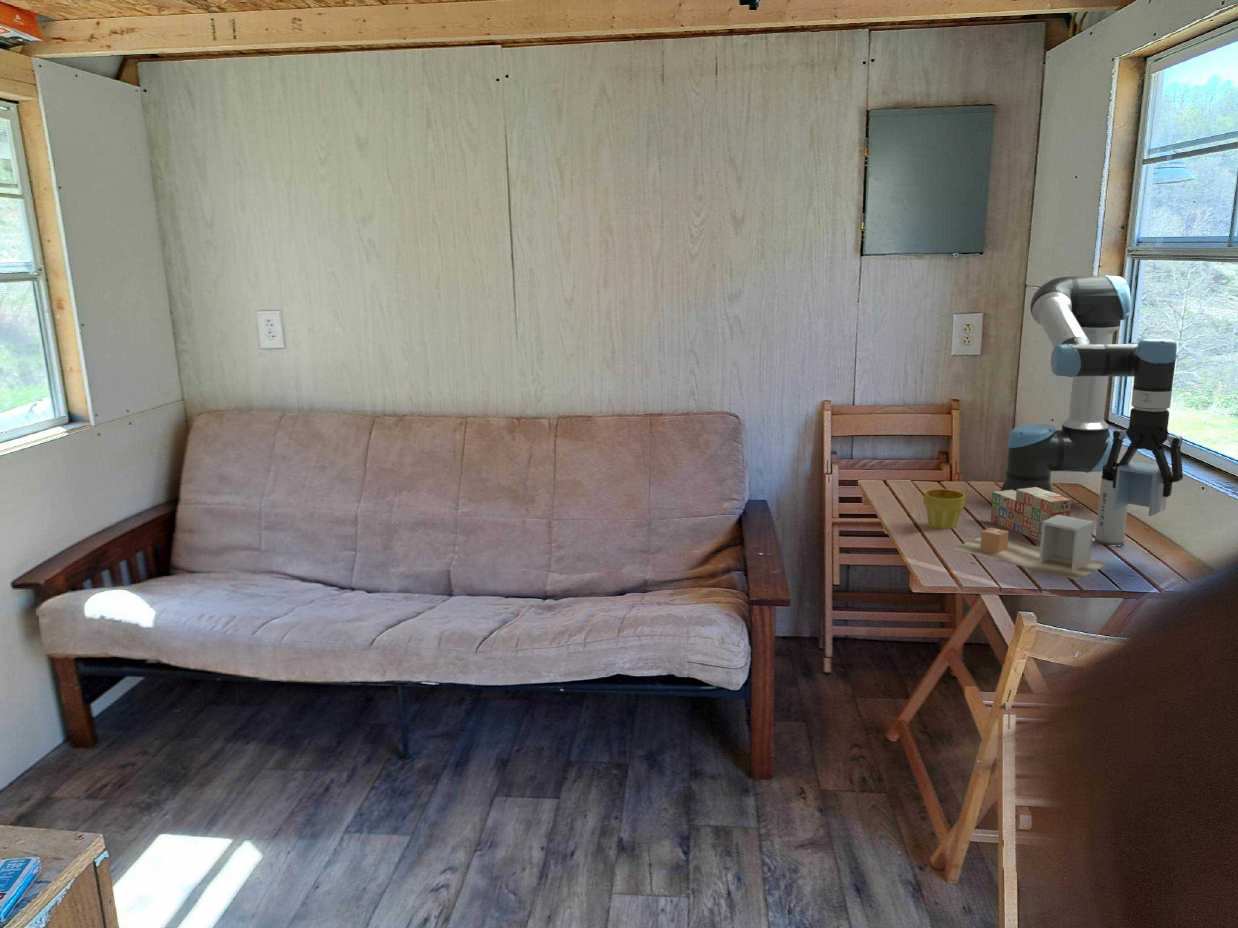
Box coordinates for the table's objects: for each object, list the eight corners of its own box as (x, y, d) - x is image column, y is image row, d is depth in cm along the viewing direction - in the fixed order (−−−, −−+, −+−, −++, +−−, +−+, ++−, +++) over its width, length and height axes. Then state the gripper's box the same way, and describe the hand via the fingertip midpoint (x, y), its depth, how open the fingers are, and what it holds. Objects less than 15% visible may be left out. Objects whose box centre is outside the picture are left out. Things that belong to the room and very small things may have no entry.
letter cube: (989, 544, 218) (991, 526, 217) (1007, 548, 215) (1008, 530, 214) (980, 548, 216) (981, 530, 215) (998, 553, 212) (999, 534, 211)
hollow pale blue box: (1127, 502, 208) (1131, 461, 205) (1164, 509, 202) (1169, 466, 199) (1113, 509, 203) (1117, 467, 200) (1151, 516, 197) (1156, 472, 194)
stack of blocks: (989, 524, 238) (992, 480, 235) (1009, 522, 240) (1012, 478, 237) (1046, 548, 218) (1050, 500, 215) (1067, 545, 219) (1071, 498, 217)
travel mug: (1120, 539, 222) (1128, 463, 218) (1125, 548, 216) (1134, 469, 212) (1092, 538, 224) (1100, 461, 220) (1097, 546, 218) (1105, 467, 214)
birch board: (985, 538, 226) (985, 534, 226) (1108, 566, 204) (1108, 562, 204) (952, 552, 217) (952, 548, 216) (1077, 584, 194) (1078, 580, 194)
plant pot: (966, 535, 229) (968, 499, 227) (924, 533, 232) (926, 497, 229) (959, 523, 239) (961, 488, 237) (919, 522, 241) (921, 487, 239)
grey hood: (1054, 554, 210) (1058, 514, 208) (1089, 562, 204) (1093, 521, 202) (1038, 562, 205) (1042, 521, 203) (1074, 571, 199) (1078, 529, 197)
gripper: (1094, 405, 202) (1085, 500, 207) (1196, 415, 187) (1184, 518, 192) (1108, 401, 207) (1098, 495, 212) (1209, 411, 191) (1196, 511, 196)
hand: (1139, 506), depth 202 cm, fingers closed on hollow pale blue box, 8 cm apart
